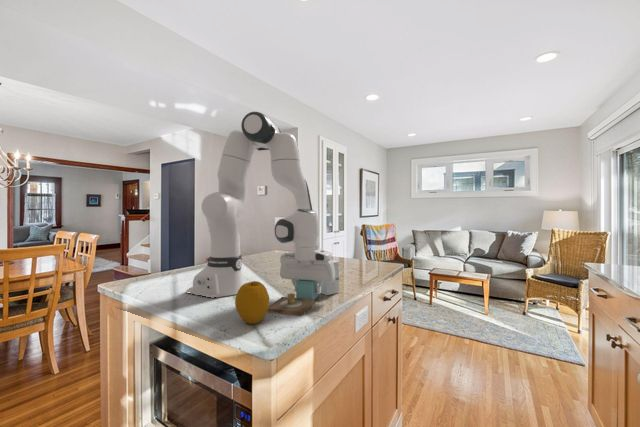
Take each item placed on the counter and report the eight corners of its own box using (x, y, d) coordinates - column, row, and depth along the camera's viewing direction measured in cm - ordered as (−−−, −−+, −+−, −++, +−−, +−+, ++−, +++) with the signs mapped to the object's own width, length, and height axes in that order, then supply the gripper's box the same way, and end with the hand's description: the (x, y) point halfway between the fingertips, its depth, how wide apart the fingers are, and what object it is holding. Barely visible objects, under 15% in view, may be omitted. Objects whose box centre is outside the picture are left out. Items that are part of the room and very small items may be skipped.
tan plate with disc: (266, 311, 91) (266, 298, 90) (282, 300, 102) (282, 288, 102) (301, 315, 87) (301, 301, 87) (314, 303, 98) (314, 290, 98)
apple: (245, 314, 89) (245, 276, 89) (275, 316, 87) (274, 277, 86) (228, 327, 79) (228, 284, 79) (261, 329, 77) (260, 286, 77)
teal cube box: (296, 300, 101) (296, 281, 101) (302, 295, 107) (302, 277, 107) (312, 301, 100) (312, 282, 100) (317, 296, 105) (317, 278, 105)
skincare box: (326, 295, 107) (326, 263, 106) (320, 292, 110) (319, 261, 110) (339, 292, 110) (339, 261, 110) (332, 290, 114) (332, 259, 114)
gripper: (276, 254, 103) (277, 292, 104) (331, 256, 97) (332, 296, 97) (284, 251, 109) (284, 287, 110) (336, 253, 103) (336, 291, 103)
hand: (307, 292), depth 103 cm, fingers closed on teal cube box, 6 cm apart
